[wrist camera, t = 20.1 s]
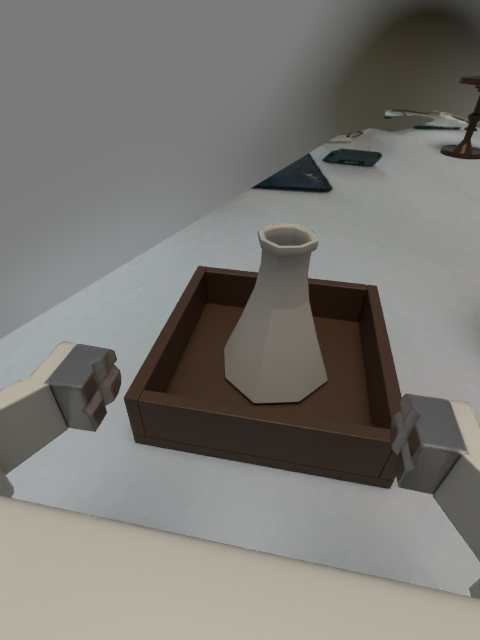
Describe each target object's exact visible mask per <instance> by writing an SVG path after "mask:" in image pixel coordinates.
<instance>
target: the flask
mask: <svg viewBox="0 0 480 640" xmlns="http://www.w3.org/2000/svg"><path fill="white" fill-rule="evenodd" d="M258 237H259V241H260V245H261V248H262V257H261V265H260V269H259V273H258V276H257V280H256V284H255V288H254V290H253V292H252V294H251V296H250V298H249V300H248V302H247V305H246V307H245V309H244V311H243V313H242V315H241V317H240V319H239V321H238V323H237V325H236V327H235V328H234V330H233V332H232V334H231V336H230V338H229V340H228V342H227V344H226V346H225V348H224V359H225V378H227V379H228V380H229V381H230V382H231V383H232V384H233V385H234V386H235V387H236V388H238V389H239V390H240V391H241V392H242V393H243V394H244V395H245V396H246V397H248V398H249V399H250V400H251V401H252V402H253V403H276V402H299V401H301V400H302V399H303V398H305V397H306V396H307V395H309V394H310V393H311V392H313V391H314V390H315V389H317V388H318V387H319V386H321V385H322V384H323V383H325V382H326V381H327V380H328V379H327V375H326V370H325V366H324V362H323V359H322V355H321V351H320V347H319V343H318V340H317V335H316V331H315V326H314V321H313V317H312V312H311V308H310V303H309V288H308V268H309V261H310V255H311V252H312V251H314V250H315V249H316V248H317V246H318V239H317V237H316V236H315V234H314V232H313V231H312V230H309V229H307V228H305V227H302V226H300V225H298V224H273V225H270V226H267V227H264V228H261V229H258Z"/></svg>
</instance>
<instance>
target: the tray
mask: <svg viewBox="0 0 480 640" xmlns="http://www.w3.org/2000/svg"><path fill="white" fill-rule="evenodd" d="M257 276H258V273H257V272H248V271H239V270H230V269H221V268H212V267H208V268H207V267H204V266H198V268H197V270H196V271H195V273H194V275H193V277H192V278H191V280H190V282H189V284H188V285H187V287H186V289H185V291H184V292H183V294H182V296H181V298H180V300H179V301H178V303H177V305H176V307H175V308H174V310H173V312H172V314H171V315H170V317H169V319H168V321H167V323H166V324H165V326H164V328H163V330H162V331H161V333H160V335H159V337H158V338H157V340H156V342H155V344H154V345H153V347H152V349H151V351H150V353H149V354H148V356H147V358H146V360H145V361H144V363H143V365H142V367H141V368H140V370H139V372H138V374H137V375H136V377H135V379H134V381H133V383H132V384H131V386H130V388H129V390H128V391H127V393H126V395H125V397H124V401H125V405H126V409H127V413H128V416H129V420H130V424H131V428H132V431H133V436H134V439H135V442H137V443H142V444H148V445H153V446H159V447H164V448H170V449H175V450H181V451H186V452H192V453H197V454H203V455H208V456H214V457H219V458H225V459H230V460H236V461H241V462H247V463H252V464H258V465H263V466H269V467H274V468H280V469H285V470H291V471H296V472H302V473H307V474H313V475H318V476H324V477H329V478H335V479H340V480H346V481H351V482H357V483H362V484H368V485H373V486H379V487H384V488H390V487H391V485H392V483H393V481H394V479H395V477H396V471H395V466H394V463H395V461H396V459H397V457H398V455H397V454H396V453H395V452H394V450H393V449H392V448H391V441H390V428H391V422H392V419H393V417H394V414H395V413H397V412H399V411H401V407H400V401H401V399H402V397H401V393H400V388H399V384H398V379H397V375H396V370H395V366H394V361H393V357H392V352H391V348H390V343H389V339H388V334H387V330H386V325H385V321H384V316H383V312H382V307H381V303H380V298H379V293H378V289H377V286H373V285H365V284H356V283H347V282H338V281H329V280H320V279H311V278H308V288H309V303H310V308H311V312H312V317H313V321H314V326H315V331H316V335H317V340H318V343H319V347H320V351H321V355H322V359H323V362H324V366H325V370H326V375H327V379H328V380H327V381H326V382H325V383H323V384H322V385H321V386H319V387H318V388H317V389H315V390H314V391H313V392H311V393H310V394H309V395H307V396H306V397H305V398H303V399H302V400H301V401H299V402H276V403H253V402H252V401H251V400H250V399H249V398H248V397H246V396H245V395H244V394H243V393H242V392H241V391H240V390H239V389H238V388H236V387H235V386H234V385H233V384H232V383H231V382H230V381H229V380H228V379H227V378H225V359H224V348H225V346H226V344H227V342H228V340H229V338H230V336H231V334H232V332H233V330H234V328H235V327H236V325H237V323H238V321H239V319H240V317H241V315H242V313H243V311H244V309H245V307H246V305H247V302H248V300H249V298H250V296H251V294H252V292H253V290H254V288H255V284H256V280H257Z"/></svg>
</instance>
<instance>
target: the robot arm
mask: <svg viewBox="0 0 480 640" xmlns="http://www.w3.org/2000/svg"><path fill="white" fill-rule="evenodd" d="M116 360H117V358H116V355H115V351H113V350H111V349H105V348H99V347H94V346H88V345H83V344H75V343H70V342H62V343H60V344H58V345H57V346H56V348H55V349H54V350H53V351H52V352H51V353H50V354H49V355H48V357H47V358H46V359H45V360H44V361H43V362H42V363H41V364H40V366H39V367H38V368H37V369H36V370H35V371H34V372H33V373H32V374H31V376H30V377H29V378H28V379H27V380H26V381H25V380H20V381H18V382H16V383H14V384H12V385H9V386H7V387H5V388H3V389H1V390H0V640H480V579H479V580H478V581H476V582H475V583H474V584H473V585H472V586H471V587H470V588H469V590H470V593H471V597H469V596H465V595H460V594H455V593H451V592H446V591H441V590H437V589H432V588H427V587H423V586H418V585H414V584H409V583H404V582H400V581H395V580H390V579H386V578H381V577H376V576H372V575H367V574H362V573H358V572H353V571H349V570H344V569H339V568H335V567H330V566H325V565H321V564H316V563H311V562H307V561H302V560H297V559H293V558H288V557H284V556H279V555H274V554H270V553H265V552H260V551H256V550H251V549H246V548H242V547H237V546H232V545H228V544H223V543H219V542H214V541H209V540H205V539H200V538H195V537H191V536H186V535H181V534H177V533H172V532H167V531H163V530H158V529H154V528H149V527H144V526H140V525H135V524H130V523H126V522H121V521H116V520H112V519H107V518H102V517H98V516H93V515H88V514H84V513H79V512H74V511H70V510H65V509H60V508H56V507H51V506H46V505H42V504H37V503H33V502H28V501H23V500H19V499H14V498H11V497H12V495H13V494H14V487H13V486H12V484H11V483H10V481H9V480H8V478H7V477H6V476H5V475H6V474H8V473H9V472H10V471H12V470H13V469H14V468H16V467H17V466H18V465H20V464H21V463H23V462H24V461H25V460H27V459H28V458H29V457H31V456H32V455H33V454H35V453H36V452H38V451H39V450H40V449H42V448H43V447H44V446H46V445H47V444H48V443H50V442H51V441H52V440H54V439H55V438H57V437H58V436H59V435H61V434H62V433H63V432H65V431H66V430H67V429H68V428H74V429H80V430H87V431H94V432H96V430H97V429H98V427H99V425H100V424H101V422H102V420H103V419H104V417H105V415H106V414H107V412H106V407H105V406H106V405H108V404H110V403H111V402H113V401H114V400H115V398H116V396H117V395H118V393H119V389H120V385H121V374H120V370H119V369H118V368H117V367H116V366H115V365H114V363H115V362H116ZM400 407H401V411H399V412H397V413H395V414H394V417H393V419H392V422H391V428H390V441H391V448H392V449H393V450H394V452H395V453H396V454H397V455H398V457H397V459H396V461H395V463H394V466H395V471H396V477H397V482H398V487H400V488H404V489H409V490H414V491H419V492H424V493H428V494H433V497H434V499H435V500H436V501H437V503H438V504H439V506H440V507H441V508H442V510H443V511H444V512H445V514H446V515H447V517H448V518H449V519H450V521H451V522H452V524H453V525H454V526H455V528H456V529H457V531H458V532H459V533H460V535H461V536H462V538H463V539H464V540H465V542H466V543H467V544H468V546H469V547H470V549H471V550H472V551H473V553H474V554H475V556H476V557H477V558H478V560H479V561H480V425H479V423H478V421H477V418H476V416H475V413H474V411H473V409H472V406H471V405H470V404H469V403H468V402H461V401H454V400H445V399H440V398H433V397H426V396H419V395H412V394H405V395H404V396H403V397H402V399H401V401H400Z"/></svg>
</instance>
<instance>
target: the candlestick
mask: <svg viewBox="0 0 480 640" xmlns="http://www.w3.org/2000/svg"><path fill="white" fill-rule="evenodd" d="M459 83H463V84H468V85H474V86H475V88H477V89H478V92H480V76H460V79H459ZM468 120H469V121H470V122H469V125H468V127H466V128H465V129H464V130H467V132H466V134H465V137H464V140H463V141H461V142H460V143H459V144H458V145H446V146H442V148H441V151H440V152H441V153H442V154H444V155H448V156H452V157H457V158H465V159H480V149H478V148H474V147H472V145H471V141H470V140H471V137H472V134H473V132H474V131H477V129H476V125H477V122H478V121H480V96H479V99H478V102H477V104H476V107H475V110H474V112H473V113H471V114H469V116H468Z"/></svg>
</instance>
